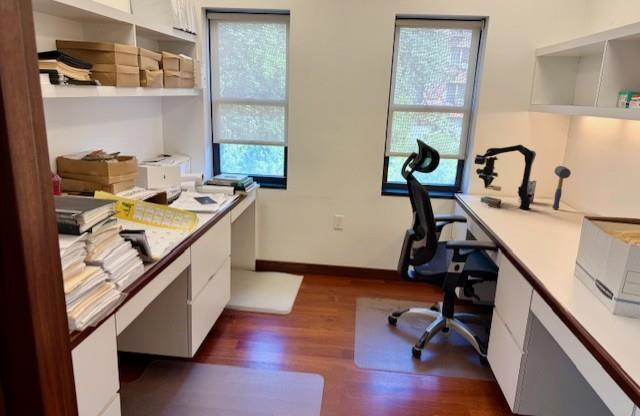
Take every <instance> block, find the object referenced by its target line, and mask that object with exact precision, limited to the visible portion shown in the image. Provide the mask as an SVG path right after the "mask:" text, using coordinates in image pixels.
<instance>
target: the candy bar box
mask: <svg viewBox="0 0 640 416" xmlns="http://www.w3.org/2000/svg"><path fill="white" fill-rule="evenodd" d="M520 181H521V182H520V186H521V185H522V181H523V179H522V180H520ZM536 187H537V180H536V179H530V180H529V193H530V195H531V196H532V199H531V200H530V203H534V198H535V192H536ZM518 203H520V204H521V198H520V197H519V196H518Z"/></svg>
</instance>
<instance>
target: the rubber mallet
mask: <svg viewBox="0 0 640 416" xmlns="http://www.w3.org/2000/svg"><path fill="white" fill-rule="evenodd" d="M554 174H555V175H556V176H557V177H558V184H557V187H556V190H555V192H554V201H553V204H552V209H553V210H555V211H557V210H559V208H560V202H561V198H562V191H563V190H562V187H563V182H564V179H567V178H568V179H569V178H570V176H571V174H572V173H571V170H570V169H569V168H568V167H566V166H563V165H558V166H556V167H555V169H554Z"/></svg>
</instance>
